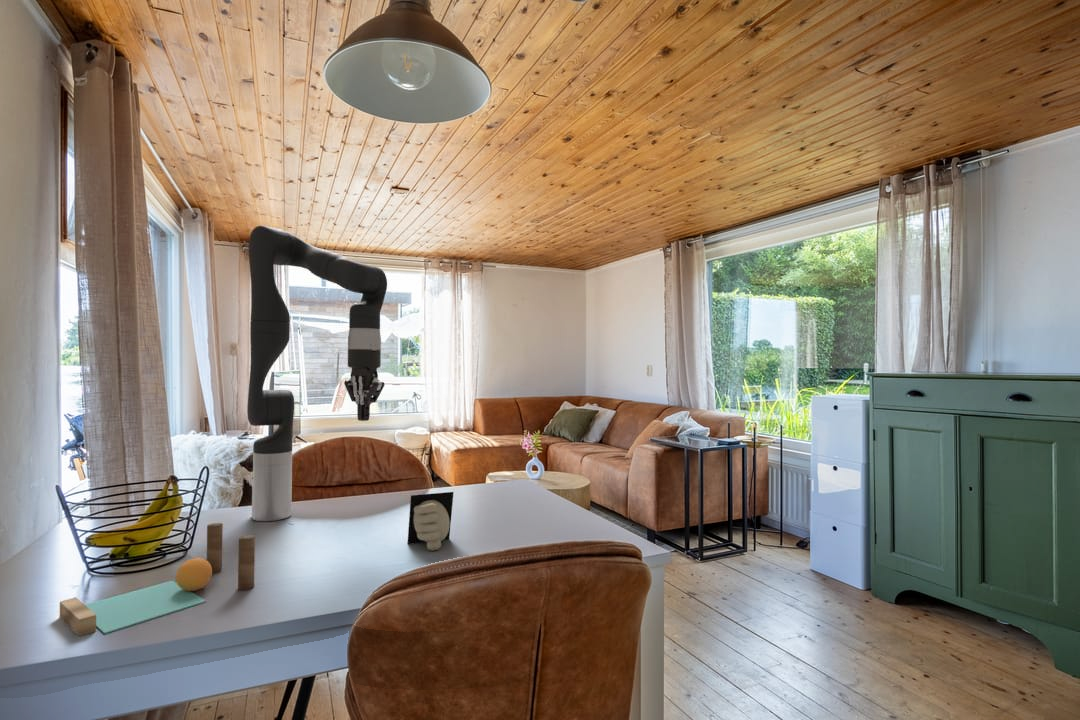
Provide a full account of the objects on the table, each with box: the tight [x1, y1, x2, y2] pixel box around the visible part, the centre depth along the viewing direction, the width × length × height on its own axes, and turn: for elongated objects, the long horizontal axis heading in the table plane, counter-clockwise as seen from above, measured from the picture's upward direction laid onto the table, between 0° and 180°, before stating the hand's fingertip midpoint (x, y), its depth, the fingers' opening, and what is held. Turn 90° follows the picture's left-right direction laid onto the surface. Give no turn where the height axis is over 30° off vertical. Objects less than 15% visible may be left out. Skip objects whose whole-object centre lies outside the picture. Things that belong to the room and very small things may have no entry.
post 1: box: [206, 522, 224, 575], centre depth 107 cm, size 3×3×9 cm
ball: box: [175, 557, 213, 592], centre depth 98 cm, size 6×6×6 cm
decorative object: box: [407, 491, 455, 551], centre depth 123 cm, size 12×10×10 cm
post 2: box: [237, 535, 256, 592], centre depth 100 cm, size 3×3×9 cm
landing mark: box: [84, 580, 207, 635], centre depth 92 cm, size 14×14×1 cm
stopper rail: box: [59, 597, 97, 637], centre depth 85 cm, size 10×2×2 cm, turn 54°
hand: (363, 420), depth 132 cm, fingers closed
